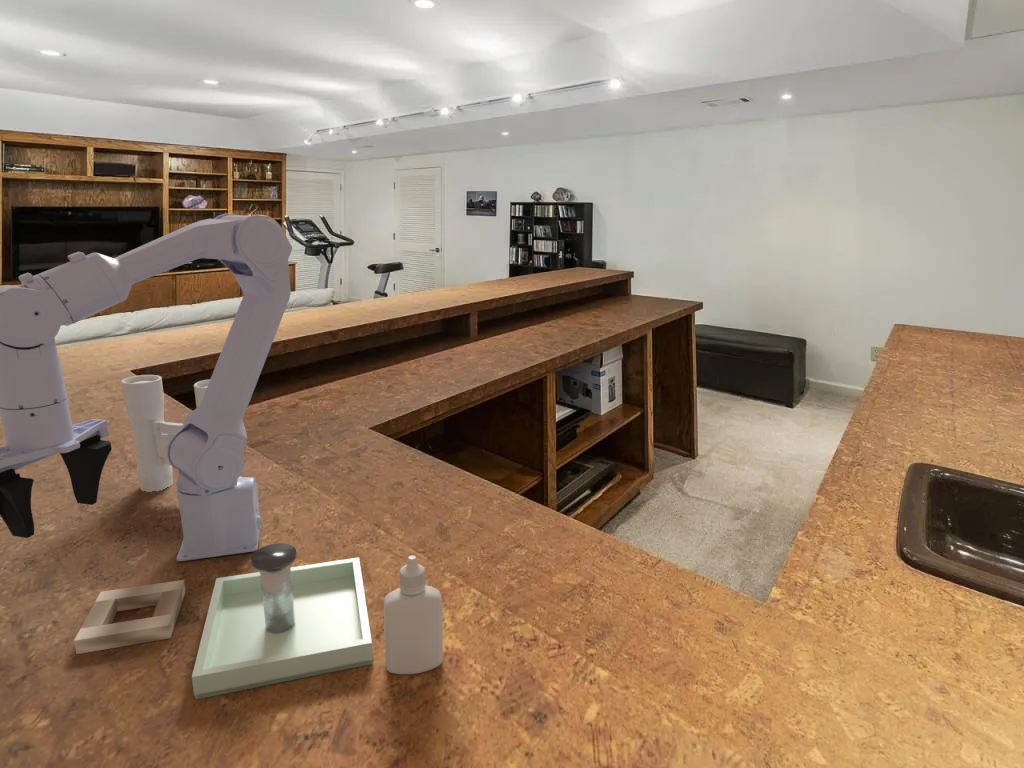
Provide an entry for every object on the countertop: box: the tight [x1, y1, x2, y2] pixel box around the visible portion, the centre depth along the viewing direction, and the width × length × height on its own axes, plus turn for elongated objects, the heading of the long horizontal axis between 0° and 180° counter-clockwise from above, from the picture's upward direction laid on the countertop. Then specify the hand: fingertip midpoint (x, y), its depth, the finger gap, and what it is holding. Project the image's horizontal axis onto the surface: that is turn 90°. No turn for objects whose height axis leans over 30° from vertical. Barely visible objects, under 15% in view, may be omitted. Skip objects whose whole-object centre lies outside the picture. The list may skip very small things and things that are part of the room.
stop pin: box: [250, 542, 298, 634], centre depth 63 cm, size 4×4×8 cm
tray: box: [191, 557, 374, 701], centre depth 64 cm, size 16×16×2 cm
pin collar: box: [73, 579, 186, 655], centre depth 65 cm, size 8×8×2 cm
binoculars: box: [120, 374, 242, 493], centre depth 94 cm, size 17×5×18 cm, turn 84°
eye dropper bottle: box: [383, 555, 444, 675], centre depth 58 cm, size 4×6×12 cm
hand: (56, 518), depth 66 cm, fingers open, 7 cm apart
